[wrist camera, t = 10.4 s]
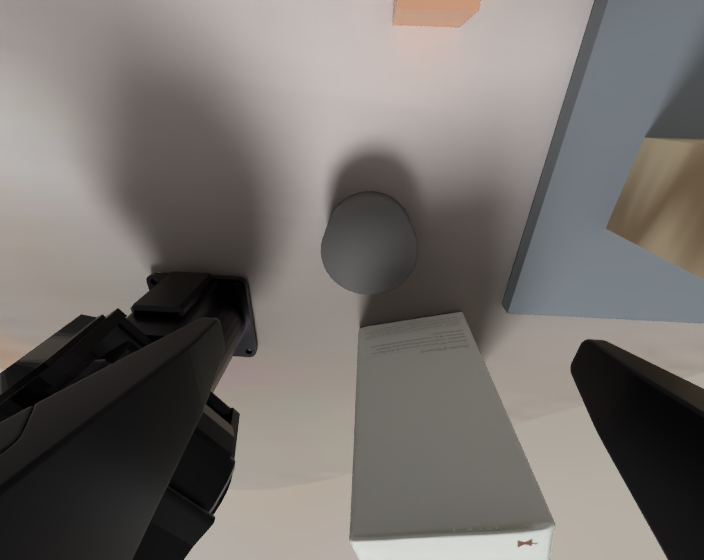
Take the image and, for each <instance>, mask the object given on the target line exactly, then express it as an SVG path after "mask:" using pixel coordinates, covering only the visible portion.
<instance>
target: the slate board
mask: <svg viewBox="0 0 704 560" xmlns="http://www.w3.org/2000/svg"><path fill="white" fill-rule="evenodd" d="M644 138H676V139H704V0H595V2H594V6H593V9H592V12H591V15H590V19H589V22H588V25H587V28H586V32H585V35H584V38H583V41H582V45H581V48H580V51H579V54H578V58H577V61H576V64H575V68H574V71H573V74H572V77H571V81H570V84H569V87H568V90H567V94H566V97H565V100H564V103H563V107H562V110H561V113H560V116H559V120H558V123H557V126H556V130H555V133H554V136H553V139H552V143H551V146H550V149H549V152H548V156H547V159H546V162H545V165H544V169H543V172H542V175H541V178H540V182H539V185H538V188H537V191H536V195H535V198H534V201H533V205H532V208H531V211H530V214H529V218H528V221H527V224H526V227H525V231H524V234H523V237H522V240H521V244H520V247H519V250H518V253H517V257H516V260H515V263H514V267H513V270H512V273H511V276H510V280H509V283H508V286H507V289H506V293H505V296H504V299H503V302H502V306H503V307H504V309H505V310H506V312H507V313H509V314H529V315H548V316H568V317H587V318H607V319H626V320H646V321H665V322H685V323H704V280H703V279H701V278H699V277H697V276H696V275H694V274H692V273H690V272H688V271H686V270H684V269H682V268H680V267H678V266H676V265H674V264H673V263H671V262H669V261H667V260H665V259H663V258H661V257H659V256H657V255H655V254H653V253H651V252H650V251H648V250H646V249H644V248H642V247H640V246H638V245H636V244H634V243H632V242H630V241H628V240H627V239H625V238H623V237H621V236H619V235H617V234H615V233H613V232H611V231H609V230H607V229H606V226H607V224H608V222H609V219H610V217H611V215H612V212H613V210H614V208H615V205H616V203H617V200H618V198H619V196H620V193H621V191H622V189H623V186H624V184H625V182H626V179H627V177H628V175H629V172H630V170H631V168H632V165H633V163H634V161H635V158H636V156H637V154H638V151H639V149H640V147H641V144H642V142H643V140H644Z"/></svg>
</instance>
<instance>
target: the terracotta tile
mask: <svg viewBox="0 0 704 560" xmlns="http://www.w3.org/2000/svg"><path fill="white" fill-rule="evenodd" d="M480 1H481V0H394V9H393V23H392V25H398V26H434V27H460V26H462V25H463V24H464V23H465V22H466V21H467V20H468V19H470V18H471V17H472V16H473V15H474V14H475V13H477V12H478V11H479V6H480Z"/></svg>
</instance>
